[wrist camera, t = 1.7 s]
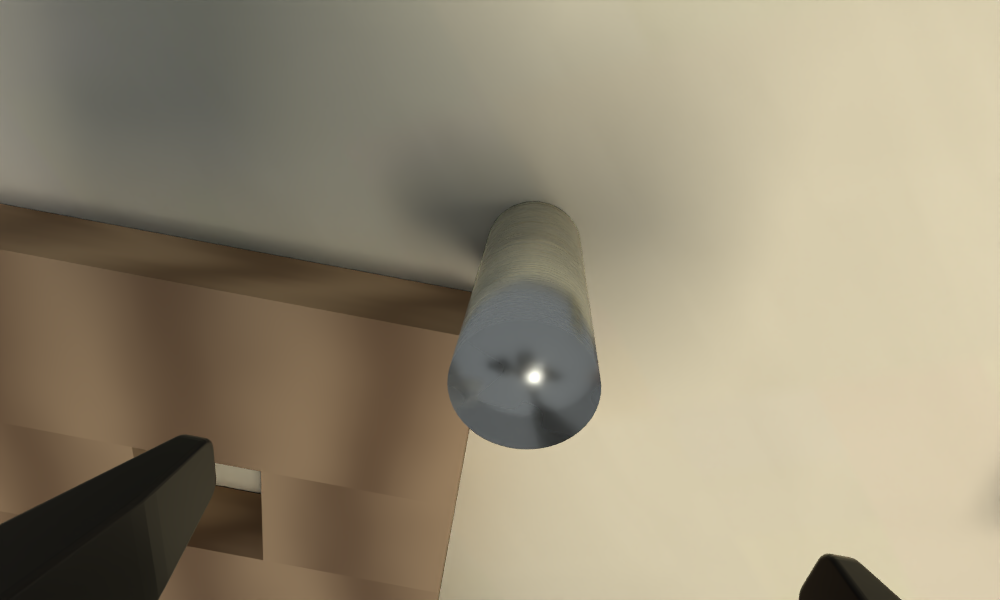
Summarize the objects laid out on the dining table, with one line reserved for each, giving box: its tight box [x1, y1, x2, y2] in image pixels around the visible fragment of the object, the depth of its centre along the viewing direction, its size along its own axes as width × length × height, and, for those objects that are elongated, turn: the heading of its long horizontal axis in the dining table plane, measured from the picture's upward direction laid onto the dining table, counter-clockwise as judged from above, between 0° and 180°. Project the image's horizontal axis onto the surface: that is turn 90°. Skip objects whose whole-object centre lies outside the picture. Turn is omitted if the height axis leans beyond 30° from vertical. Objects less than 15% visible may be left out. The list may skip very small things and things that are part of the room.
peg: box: [447, 202, 601, 449], centre depth 15 cm, size 3×3×8 cm
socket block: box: [0, 204, 472, 600], centre depth 22 cm, size 18×18×3 cm
